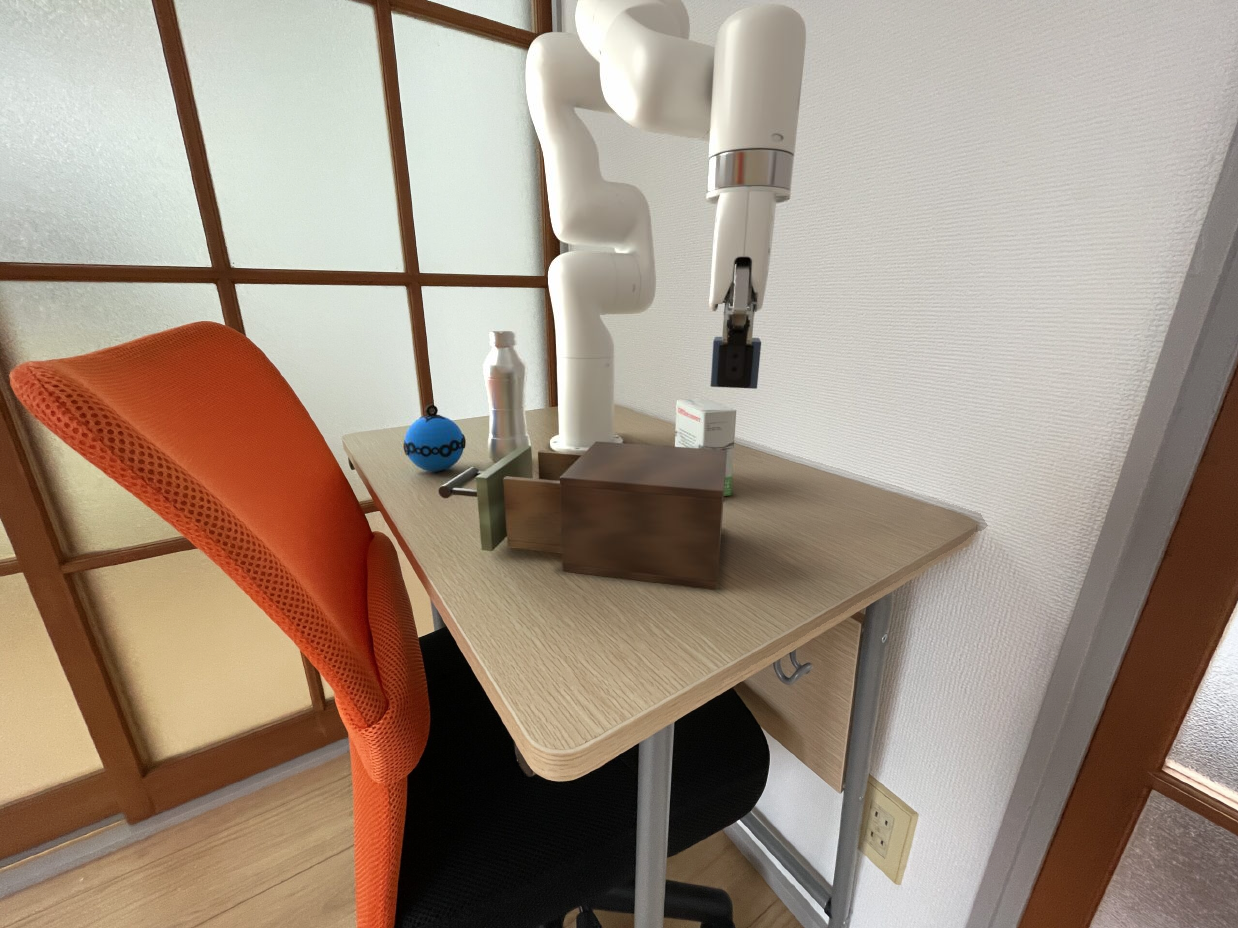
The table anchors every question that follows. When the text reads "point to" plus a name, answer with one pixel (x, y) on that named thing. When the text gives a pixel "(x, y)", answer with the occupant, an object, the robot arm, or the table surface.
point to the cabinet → (644, 513)
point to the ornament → (434, 442)
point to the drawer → (518, 499)
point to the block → (755, 362)
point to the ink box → (707, 429)
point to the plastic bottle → (505, 396)
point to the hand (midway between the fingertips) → (733, 380)
